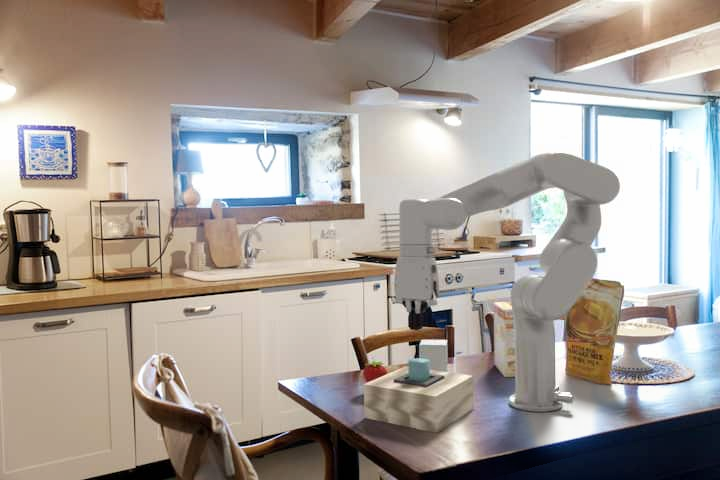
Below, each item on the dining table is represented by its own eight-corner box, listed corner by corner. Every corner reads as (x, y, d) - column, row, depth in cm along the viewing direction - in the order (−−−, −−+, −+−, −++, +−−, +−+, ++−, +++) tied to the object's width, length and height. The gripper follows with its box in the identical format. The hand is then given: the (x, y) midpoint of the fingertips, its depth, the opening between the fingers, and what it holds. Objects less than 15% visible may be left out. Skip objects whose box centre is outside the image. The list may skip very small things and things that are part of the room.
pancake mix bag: (572, 368, 184) (571, 274, 182) (627, 384, 167) (626, 280, 165) (555, 372, 181) (554, 276, 179) (609, 388, 164) (608, 282, 162)
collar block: (473, 408, 150) (473, 373, 150) (436, 432, 135) (435, 393, 134) (406, 396, 161) (405, 363, 161) (364, 417, 146) (363, 381, 145)
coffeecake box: (529, 377, 176) (528, 308, 175) (504, 377, 177) (502, 309, 176) (517, 363, 191) (516, 301, 190) (493, 364, 192) (492, 301, 191)
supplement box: (447, 392, 164) (446, 345, 163) (419, 391, 165) (418, 344, 165) (448, 384, 171) (447, 339, 171) (421, 383, 173) (420, 338, 172)
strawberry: (373, 398, 160) (372, 360, 160) (359, 391, 167) (358, 355, 166) (393, 394, 163) (392, 357, 163) (378, 388, 170) (377, 352, 169)
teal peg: (433, 388, 148) (433, 359, 148) (423, 394, 144) (422, 364, 144) (415, 385, 151) (415, 357, 151) (405, 391, 147) (404, 361, 147)
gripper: (451, 251, 145) (451, 329, 146) (397, 250, 153) (397, 323, 154) (436, 253, 139) (436, 335, 140) (380, 251, 147) (380, 328, 148)
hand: (416, 329), depth 147 cm, fingers closed
